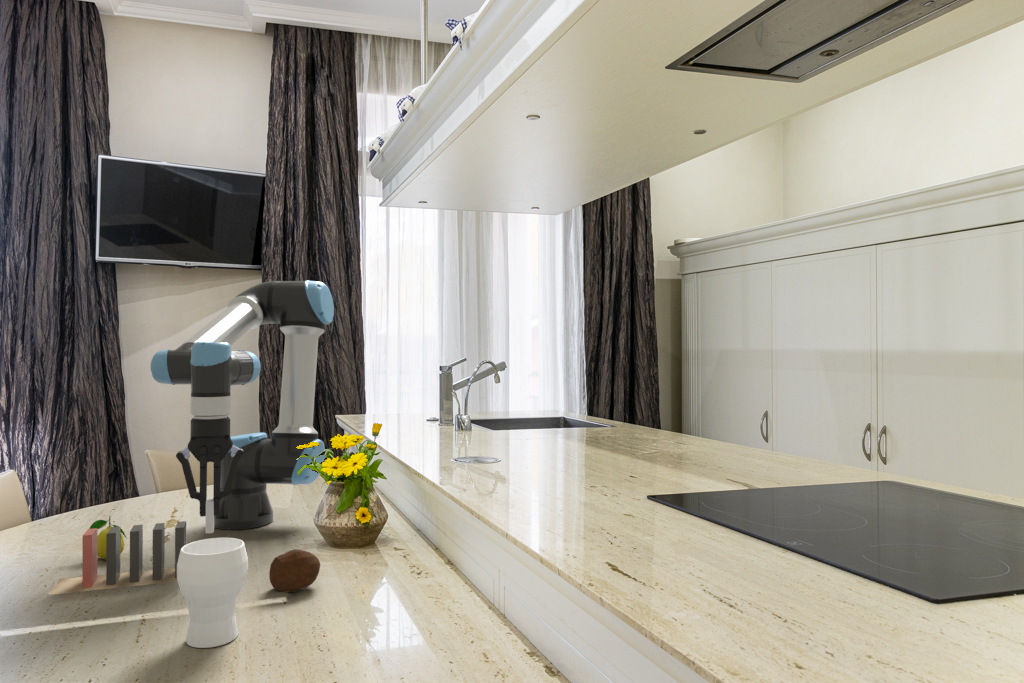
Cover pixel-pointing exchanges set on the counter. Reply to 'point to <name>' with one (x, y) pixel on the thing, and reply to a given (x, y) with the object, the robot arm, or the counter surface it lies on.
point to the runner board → (123, 581)
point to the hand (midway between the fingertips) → (209, 531)
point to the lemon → (102, 537)
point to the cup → (212, 588)
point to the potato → (293, 570)
